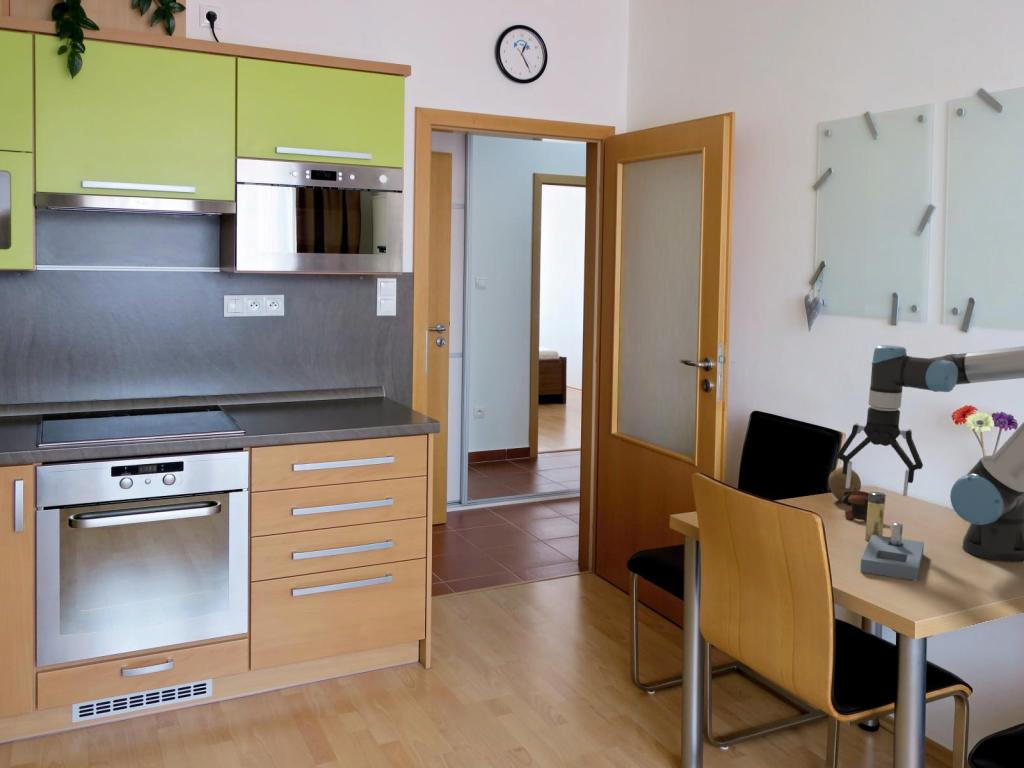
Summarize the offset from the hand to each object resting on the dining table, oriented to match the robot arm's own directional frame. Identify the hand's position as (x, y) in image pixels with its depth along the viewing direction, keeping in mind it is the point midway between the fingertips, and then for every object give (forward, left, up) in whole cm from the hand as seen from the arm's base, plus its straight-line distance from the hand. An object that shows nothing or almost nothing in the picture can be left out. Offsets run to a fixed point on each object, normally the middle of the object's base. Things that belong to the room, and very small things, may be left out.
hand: (876, 491), depth 250 cm
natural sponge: (+12, -37, -13) cm, 41 cm away
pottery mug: (+5, -21, -13) cm, 25 cm away
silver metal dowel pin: (-6, +12, -13) cm, 18 cm away
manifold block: (-6, +17, -13) cm, 22 cm away
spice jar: (0, 0, -13) cm, 13 cm away
